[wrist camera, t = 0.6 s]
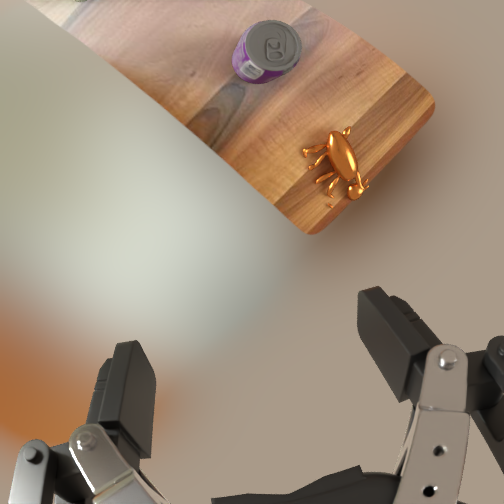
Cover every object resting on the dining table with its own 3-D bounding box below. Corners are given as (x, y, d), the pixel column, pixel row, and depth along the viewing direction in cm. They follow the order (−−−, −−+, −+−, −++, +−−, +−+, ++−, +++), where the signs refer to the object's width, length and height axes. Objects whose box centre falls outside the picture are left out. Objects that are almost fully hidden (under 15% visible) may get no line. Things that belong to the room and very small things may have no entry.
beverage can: (284, 81, 42) (310, 71, 31) (236, 88, 41) (247, 78, 30) (276, 36, 39) (299, 14, 28) (227, 42, 38) (235, 19, 27)
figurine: (336, 213, 52) (385, 171, 48) (340, 222, 49) (393, 177, 45) (287, 161, 48) (339, 115, 44) (288, 167, 45) (344, 117, 41)
